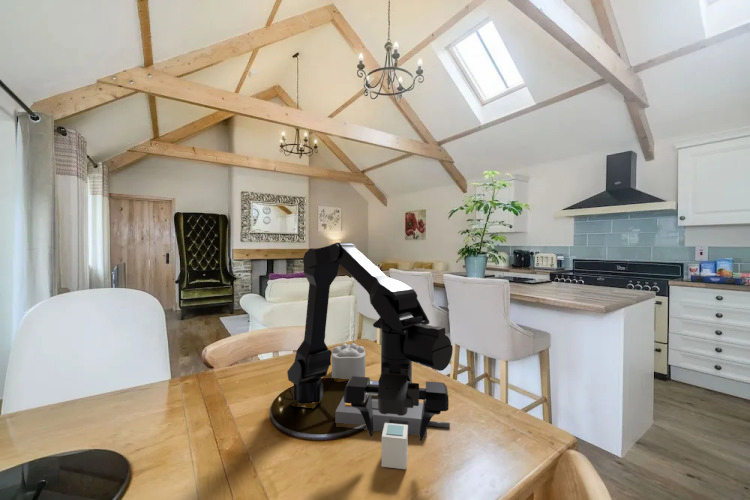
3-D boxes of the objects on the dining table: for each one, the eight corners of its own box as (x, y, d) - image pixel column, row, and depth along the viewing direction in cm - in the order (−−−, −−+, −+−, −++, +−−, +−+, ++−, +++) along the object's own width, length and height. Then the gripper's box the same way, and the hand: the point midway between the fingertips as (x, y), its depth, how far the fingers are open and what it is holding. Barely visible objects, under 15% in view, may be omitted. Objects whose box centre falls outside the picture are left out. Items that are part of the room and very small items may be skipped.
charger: (381, 466, 58) (381, 435, 57) (385, 444, 64) (385, 416, 64) (406, 469, 57) (406, 438, 57) (408, 446, 63) (408, 418, 63)
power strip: (335, 427, 70) (335, 410, 70) (343, 410, 77) (343, 395, 77) (451, 438, 67) (451, 420, 66) (448, 420, 73) (448, 403, 73)
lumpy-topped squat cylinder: (330, 382, 93) (330, 353, 93) (333, 365, 106) (333, 340, 106) (365, 382, 94) (366, 352, 94) (364, 365, 107) (364, 339, 107)
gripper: (335, 367, 52) (335, 461, 53) (451, 375, 50) (450, 474, 50) (351, 346, 63) (350, 424, 64) (446, 352, 61) (445, 433, 61)
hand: (395, 437), depth 59 cm, fingers open, 9 cm apart
